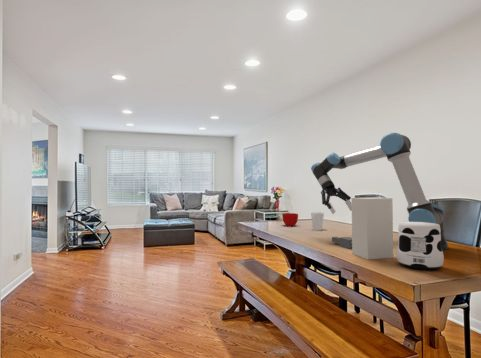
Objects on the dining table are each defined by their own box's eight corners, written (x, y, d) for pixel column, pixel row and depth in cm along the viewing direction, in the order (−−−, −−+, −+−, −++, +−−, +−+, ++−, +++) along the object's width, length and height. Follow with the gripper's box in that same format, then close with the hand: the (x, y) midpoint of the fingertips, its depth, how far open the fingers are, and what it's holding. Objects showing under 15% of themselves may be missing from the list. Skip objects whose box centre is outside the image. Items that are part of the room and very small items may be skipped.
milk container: (423, 260, 141) (423, 220, 141) (454, 271, 124) (453, 226, 124) (388, 262, 139) (387, 221, 139) (414, 273, 122) (413, 227, 122)
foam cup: (310, 230, 233) (310, 213, 234) (312, 228, 242) (312, 212, 242) (323, 231, 230) (323, 213, 230) (324, 229, 238) (324, 212, 239)
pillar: (352, 253, 156) (351, 197, 156) (376, 252, 159) (375, 197, 159) (367, 259, 144) (366, 199, 144) (393, 257, 147) (392, 198, 148)
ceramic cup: (302, 225, 264) (302, 213, 264) (294, 227, 250) (294, 215, 250) (288, 224, 271) (288, 212, 271) (279, 226, 257) (279, 214, 257)
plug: (329, 243, 183) (329, 235, 183) (338, 242, 185) (338, 234, 185) (351, 250, 165) (351, 240, 165) (360, 249, 167) (360, 239, 167)
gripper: (339, 185, 204) (356, 211, 192) (307, 189, 195) (323, 217, 183) (344, 178, 199) (362, 204, 187) (312, 181, 189) (329, 210, 177)
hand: (343, 211), depth 185 cm, fingers open, 13 cm apart
